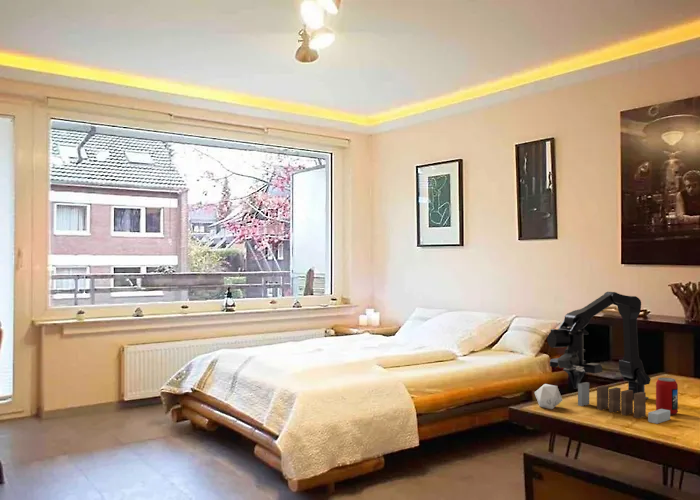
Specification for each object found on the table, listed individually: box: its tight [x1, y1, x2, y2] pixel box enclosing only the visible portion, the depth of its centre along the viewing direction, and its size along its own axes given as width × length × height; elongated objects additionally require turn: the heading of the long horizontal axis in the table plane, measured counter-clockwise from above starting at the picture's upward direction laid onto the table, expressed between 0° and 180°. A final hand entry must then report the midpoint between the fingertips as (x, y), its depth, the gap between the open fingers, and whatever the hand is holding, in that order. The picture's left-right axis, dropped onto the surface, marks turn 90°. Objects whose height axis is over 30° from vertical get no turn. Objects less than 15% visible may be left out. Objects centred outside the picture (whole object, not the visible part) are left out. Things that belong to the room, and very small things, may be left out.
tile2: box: [608, 386, 622, 413], centre depth 216 cm, size 2×5×8 cm, turn 128°
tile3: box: [620, 389, 634, 416], centre depth 212 cm, size 2×5×8 cm, turn 128°
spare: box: [577, 381, 590, 407], centre depth 225 cm, size 2×5×8 cm, turn 128°
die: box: [533, 383, 563, 410], centre depth 221 cm, size 8×9×10 cm
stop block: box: [647, 409, 671, 425], centre depth 203 cm, size 9×3×3 cm, turn 128°
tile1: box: [596, 385, 610, 411], centre depth 219 cm, size 2×5×8 cm, turn 128°
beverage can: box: [655, 377, 679, 416], centre depth 213 cm, size 7×7×12 cm
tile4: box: [633, 392, 647, 419], centre depth 209 cm, size 2×5×8 cm, turn 128°
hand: (575, 388), depth 228 cm, fingers closed
